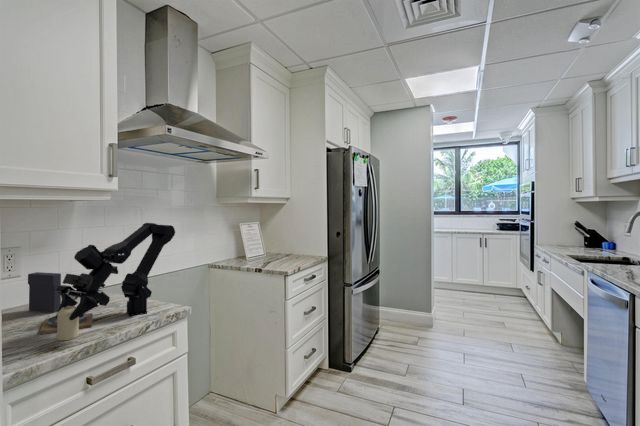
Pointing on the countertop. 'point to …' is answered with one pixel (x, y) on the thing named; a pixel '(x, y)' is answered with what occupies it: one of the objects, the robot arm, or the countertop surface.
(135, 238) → the robot arm
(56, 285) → the navy upright box
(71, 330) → the candle
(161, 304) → the countertop surface
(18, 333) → the countertop surface
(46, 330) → the dock
